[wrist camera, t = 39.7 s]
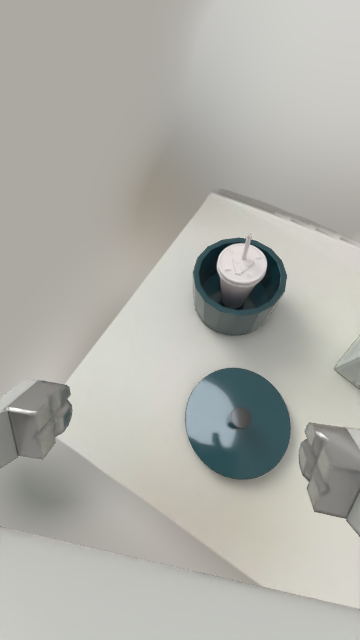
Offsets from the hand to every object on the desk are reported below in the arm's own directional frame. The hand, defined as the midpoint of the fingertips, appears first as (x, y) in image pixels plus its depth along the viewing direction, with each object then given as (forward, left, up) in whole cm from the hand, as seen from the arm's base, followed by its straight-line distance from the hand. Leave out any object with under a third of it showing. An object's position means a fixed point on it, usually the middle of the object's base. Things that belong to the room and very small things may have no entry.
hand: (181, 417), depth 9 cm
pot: (+9, +19, -28) cm, 35 cm away
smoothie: (+9, +19, -28) cm, 35 cm away
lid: (+6, +1, -28) cm, 28 cm away
